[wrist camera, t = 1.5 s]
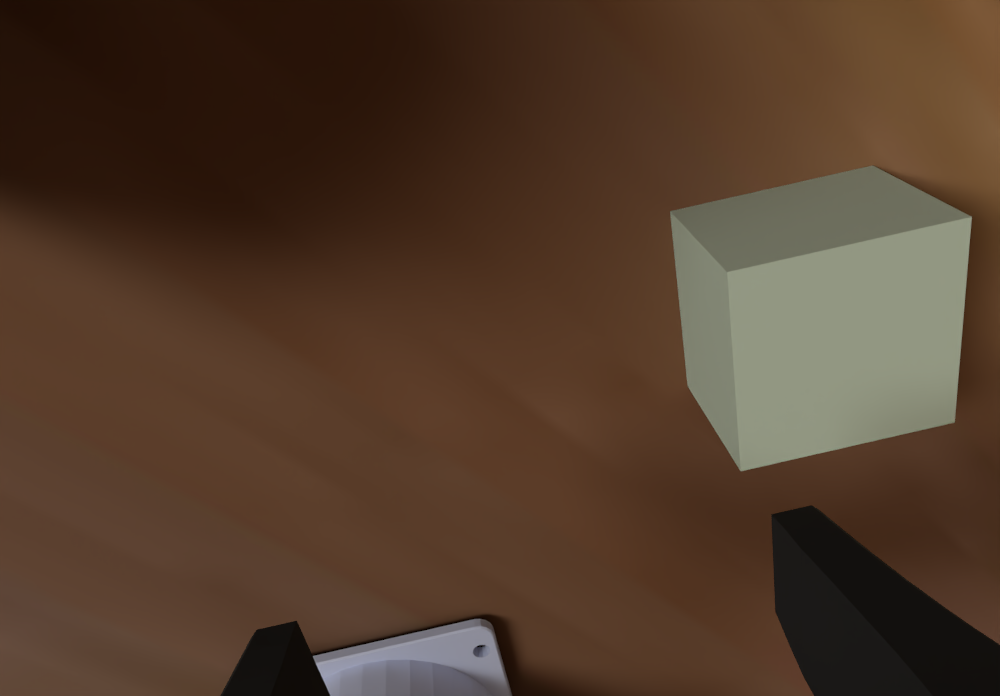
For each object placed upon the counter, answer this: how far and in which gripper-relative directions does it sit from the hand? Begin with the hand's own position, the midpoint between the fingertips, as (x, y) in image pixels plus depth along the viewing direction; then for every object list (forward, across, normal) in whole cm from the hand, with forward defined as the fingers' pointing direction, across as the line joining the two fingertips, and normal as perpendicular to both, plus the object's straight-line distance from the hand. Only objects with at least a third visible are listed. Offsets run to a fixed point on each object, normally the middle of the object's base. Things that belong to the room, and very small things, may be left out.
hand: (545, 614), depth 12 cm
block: (+10, -7, 0) cm, 12 cm away
